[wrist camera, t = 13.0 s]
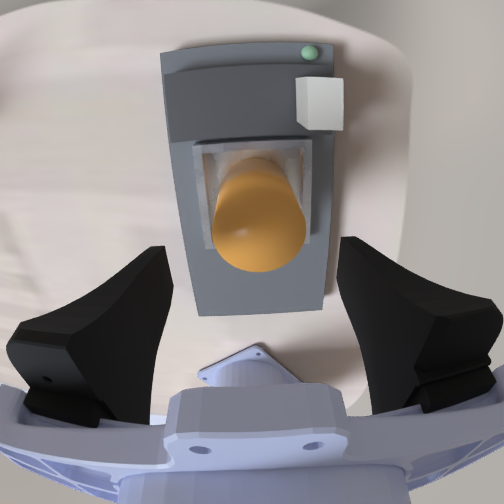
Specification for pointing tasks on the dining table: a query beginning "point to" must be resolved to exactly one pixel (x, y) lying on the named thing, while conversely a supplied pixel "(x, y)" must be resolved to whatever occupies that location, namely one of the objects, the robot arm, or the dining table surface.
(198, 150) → the frame
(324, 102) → the lever
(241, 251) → the cap
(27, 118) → the dining table surface
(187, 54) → the breaker panel
